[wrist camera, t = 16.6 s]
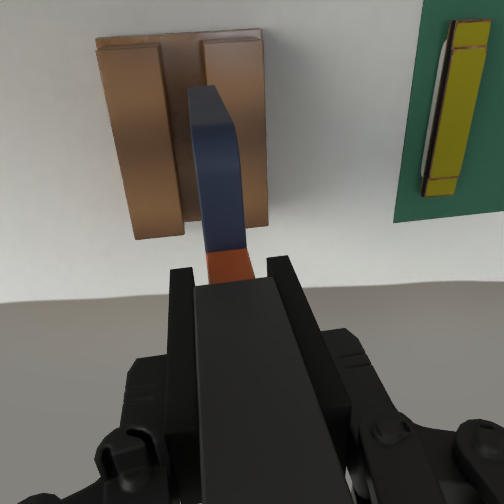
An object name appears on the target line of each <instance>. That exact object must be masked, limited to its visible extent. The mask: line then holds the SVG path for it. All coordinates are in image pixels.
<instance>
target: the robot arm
mask: <svg viewBox="0 0 504 504" xmlns="http://www.w3.org/2000/svg"><path fill="white" fill-rule="evenodd" d="M267 277H273V278H274V280H275V283H276V285H277V288H278V291H279V294H280V297H281V299H282V302H283V305H284V308H285V310H286V313H287V316H288V319H289V322H290V324H291V327H292V330H293V333H294V336H295V338H296V341H297V344H298V347H299V350H300V352H301V355H302V358H303V361H304V364H305V366H306V369H307V372H308V375H309V378H310V380H311V383H312V386H313V389H314V392H315V394H316V397H317V400H318V403H319V406H320V408H321V411H322V414H323V417H324V420H325V422H326V425H327V428H328V431H329V434H330V436H331V439H332V442H333V445H334V447H335V450H336V453H337V456H338V459H339V461H340V464H341V467H342V470H343V473H344V475H345V473H346V466H347V469H348V471H349V474H350V477H351V480H352V492H351V495H352V498H353V501H354V503H355V504H504V428H503V427H501V426H499V425H497V424H495V423H493V422H491V421H486V420H482V419H473V420H467V421H466V422H464V423H462V424H460V426H459V428H458V430H457V431H456V432H454V431H447V430H439V429H432V428H427V427H422V426H420V425H417V424H415V423H413V422H412V421H411V420H410V419H409V418H408V417H406V416H405V415H404V414H403V413H401V412H398V411H397V409H396V408H395V406H394V405H393V403H392V401H391V399H390V397H389V396H388V394H387V392H386V390H385V388H384V386H383V384H382V383H381V381H380V379H379V377H378V375H377V373H376V371H375V369H374V368H373V366H372V365H371V362H370V360H369V358H368V356H367V355H366V354H365V351H364V349H363V347H362V345H361V343H360V341H359V339H358V338H357V337H356V336H354V335H353V334H352V333H351V332H349V331H348V330H347V329H346V328H342V329H334V330H327V331H320V329H319V327H318V324H317V322H316V320H315V317H314V315H313V313H312V310H311V308H310V306H309V303H308V301H307V299H306V296H305V295H304V292H303V289H302V287H301V285H300V283H299V280H298V278H297V276H296V273H295V271H294V269H293V266H292V264H291V262H290V259H289V257H288V255H286V256H278V257H269V258H267ZM194 287H195V282H194V276H193V269H192V267H188V268H180V269H172V270H170V287H169V313H168V339H167V354H166V355H159V356H152V357H145V358H137V359H136V361H135V362H134V364H133V365H132V367H131V368H130V370H129V371H128V373H127V380H126V386H125V393H124V404H123V407H122V415H121V421H120V427H119V428H117V429H115V430H113V431H112V432H111V433H110V434H109V435H107V436H106V437H105V438H104V439H103V440H102V442H101V443H100V445H99V446H98V448H97V451H96V455H95V458H94V460H95V463H96V465H97V468H98V470H99V473H100V475H101V477H100V478H99V479H98V480H97V481H96V482H95V483H93V484H91V485H90V486H88V487H86V488H84V489H82V490H80V491H78V492H76V493H74V494H72V495H70V496H68V497H66V498H64V499H62V500H61V499H60V498H58V497H57V496H56V495H55V494H47V493H41V494H37V495H33V496H30V497H28V498H26V499H25V500H23V501H21V502H19V503H18V504H180V502H181V504H199V503H202V490H201V466H200V441H199V417H198V393H197V369H196V345H195V320H194V296H193V289H194Z"/></svg>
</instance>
